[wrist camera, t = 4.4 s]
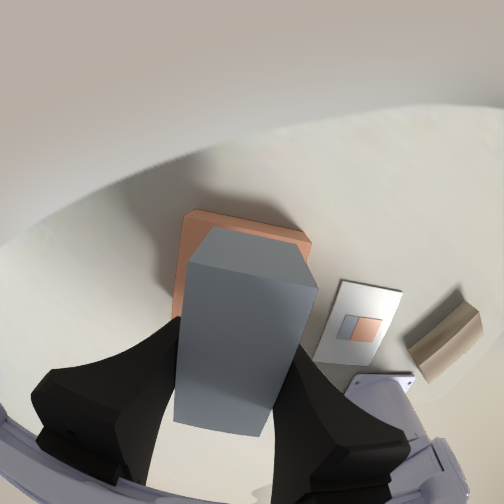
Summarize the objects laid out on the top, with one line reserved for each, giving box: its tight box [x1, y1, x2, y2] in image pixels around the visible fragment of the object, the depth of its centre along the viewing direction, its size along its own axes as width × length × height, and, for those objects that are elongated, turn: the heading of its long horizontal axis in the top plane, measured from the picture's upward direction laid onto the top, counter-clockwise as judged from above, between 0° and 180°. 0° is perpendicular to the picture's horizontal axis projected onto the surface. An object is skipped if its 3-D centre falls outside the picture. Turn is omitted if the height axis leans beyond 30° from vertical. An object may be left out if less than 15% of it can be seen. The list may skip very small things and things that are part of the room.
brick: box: [408, 300, 484, 384], centre depth 21 cm, size 4×8×3 cm, turn 130°
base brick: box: [171, 209, 312, 320], centre depth 19 cm, size 8×8×3 cm
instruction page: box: [312, 280, 403, 366], centre depth 22 cm, size 8×6×1 cm
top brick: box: [173, 226, 318, 437], centre depth 12 cm, size 8×4×5 cm, turn 168°
